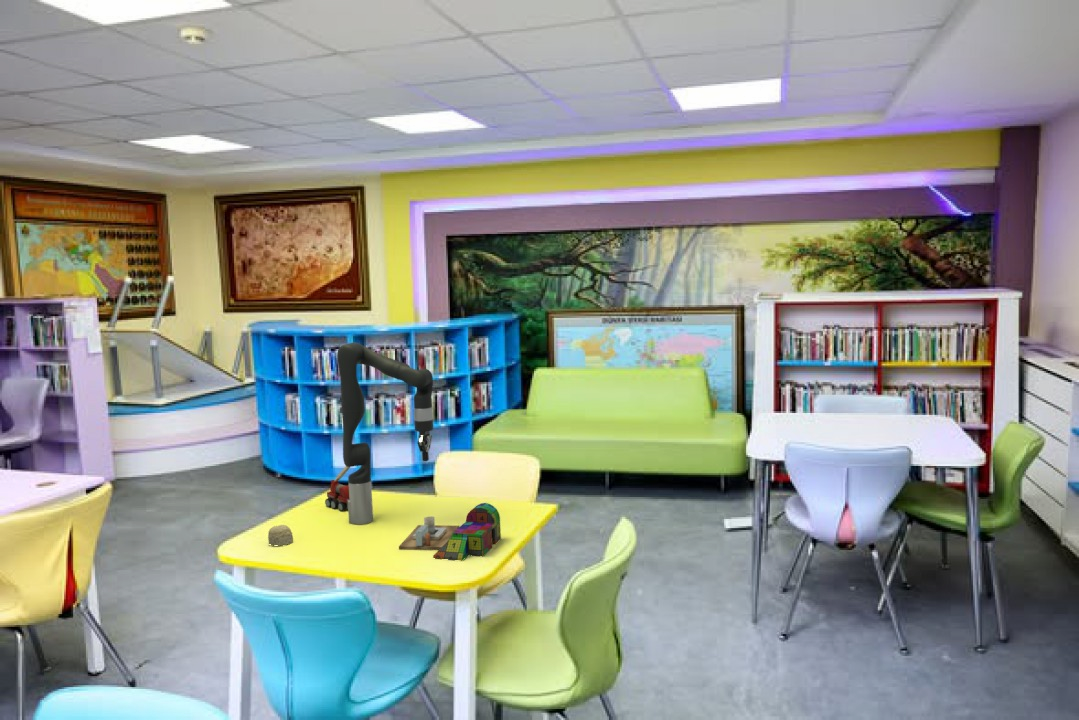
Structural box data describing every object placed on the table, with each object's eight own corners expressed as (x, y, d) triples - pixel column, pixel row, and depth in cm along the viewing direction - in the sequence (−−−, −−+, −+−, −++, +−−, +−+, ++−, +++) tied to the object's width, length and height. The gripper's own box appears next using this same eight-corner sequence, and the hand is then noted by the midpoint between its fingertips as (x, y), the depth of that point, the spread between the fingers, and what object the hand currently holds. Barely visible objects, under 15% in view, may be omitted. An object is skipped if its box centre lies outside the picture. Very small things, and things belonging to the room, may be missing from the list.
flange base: (398, 549, 292) (397, 528, 291) (418, 528, 317) (417, 508, 316) (443, 550, 290) (442, 528, 289) (459, 528, 314) (458, 508, 313)
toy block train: (459, 536, 305) (458, 501, 304) (500, 539, 300) (499, 503, 299) (433, 559, 281) (431, 521, 280) (477, 562, 276) (475, 524, 275)
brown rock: (269, 553, 305) (257, 537, 299) (282, 533, 312) (270, 517, 306) (288, 555, 302) (276, 539, 295) (300, 534, 308) (289, 519, 302)
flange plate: (421, 530, 309) (420, 516, 308) (446, 530, 307) (446, 517, 307) (405, 545, 292) (405, 531, 291) (432, 546, 290) (431, 532, 289)
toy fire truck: (343, 512, 342) (341, 473, 340) (324, 506, 352) (321, 468, 350) (365, 506, 350) (363, 467, 348) (345, 500, 360) (343, 463, 359)
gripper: (428, 421, 308) (430, 464, 310) (437, 415, 321) (438, 457, 323) (409, 421, 309) (411, 464, 311) (419, 415, 322) (421, 457, 324)
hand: (425, 460), depth 317 cm, fingers closed
